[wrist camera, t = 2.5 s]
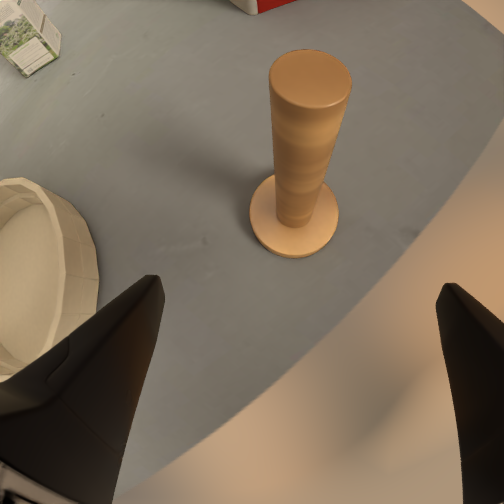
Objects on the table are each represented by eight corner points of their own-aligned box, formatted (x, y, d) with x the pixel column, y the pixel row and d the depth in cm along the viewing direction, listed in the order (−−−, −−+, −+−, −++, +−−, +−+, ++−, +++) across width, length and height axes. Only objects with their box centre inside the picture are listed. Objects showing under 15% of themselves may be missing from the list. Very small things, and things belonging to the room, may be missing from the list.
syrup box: (62, 34, 29) (13, -32, 15) (59, 58, 28) (1, -14, 14) (30, 55, 29) (-23, -4, 15) (25, 80, 28) (-37, 19, 14)
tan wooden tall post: (351, 230, 22) (447, 116, 7) (279, 275, 22) (278, 211, 7) (305, 162, 23) (327, 1, 9) (235, 202, 23) (174, 60, 8)
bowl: (135, 327, 22) (100, 331, 17) (17, 396, 22) (-19, 405, 17) (69, 163, 25) (37, 139, 20) (-27, 253, 25) (-59, 245, 20)
